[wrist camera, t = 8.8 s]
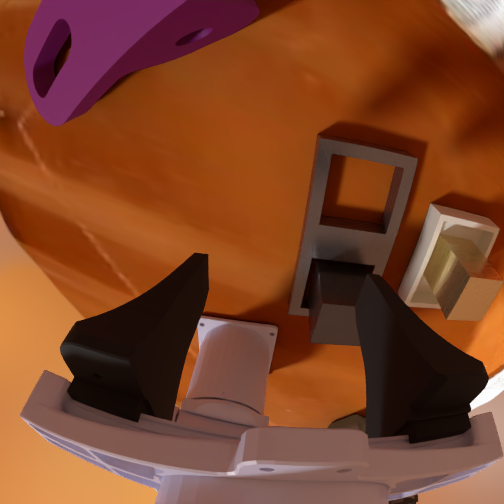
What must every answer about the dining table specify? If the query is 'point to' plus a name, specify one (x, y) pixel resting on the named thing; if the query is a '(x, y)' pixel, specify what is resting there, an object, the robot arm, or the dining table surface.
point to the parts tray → (436, 222)
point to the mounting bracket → (116, 44)
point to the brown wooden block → (461, 278)
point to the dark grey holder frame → (343, 230)
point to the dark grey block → (334, 301)
